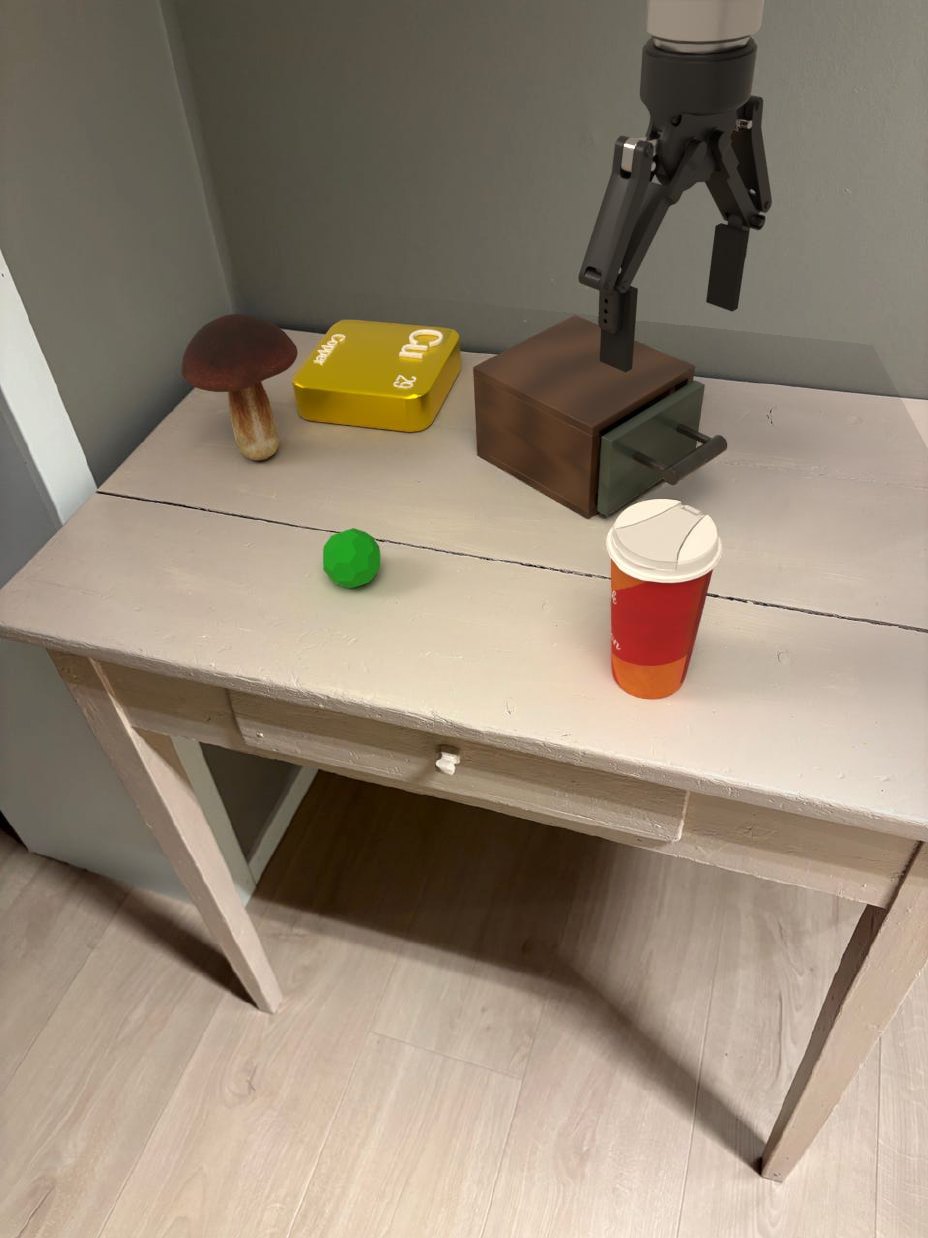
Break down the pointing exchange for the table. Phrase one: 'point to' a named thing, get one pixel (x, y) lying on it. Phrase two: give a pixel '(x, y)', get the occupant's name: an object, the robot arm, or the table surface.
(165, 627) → the table surface
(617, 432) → the drawer
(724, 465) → the table surface
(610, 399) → the cabinet
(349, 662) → the table surface
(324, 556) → the polyhedron
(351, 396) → the element tile
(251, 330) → the decorative mushroom
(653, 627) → the paper cup
